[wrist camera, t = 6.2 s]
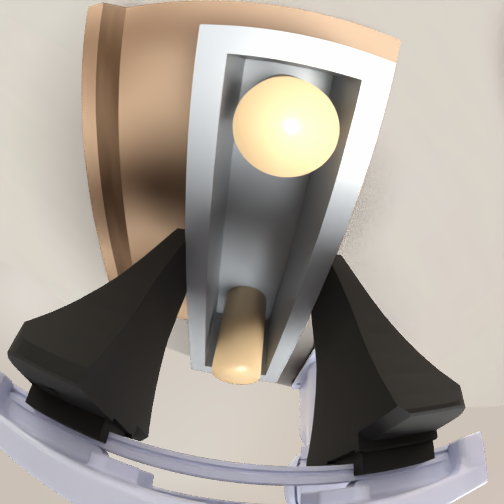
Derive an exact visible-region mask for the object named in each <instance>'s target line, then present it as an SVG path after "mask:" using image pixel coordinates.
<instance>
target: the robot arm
mask: <svg viewBox="0 0 504 504" xmlns="http://www.w3.org/2000/svg"><path fill="white" fill-rule="evenodd" d="M186 293H187V283H186V240H185V229H180V228H177V229H176V230H175V231H173V232H172V233H171V234H170V235H169V236H167V237H166V238H165V239H164V240H163V241H162V242H160V243H159V244H158V245H157V246H156V247H155V248H153V249H152V250H151V251H150V252H149V253H147V254H146V255H145V256H144V257H143V258H141V259H140V260H139V261H138V262H136V263H135V264H134V265H132V266H131V267H130V268H128V269H127V270H126V271H124V272H123V273H122V274H120V275H119V276H117V277H116V278H115V279H113V280H111V281H110V282H108V283H107V284H105V285H104V286H102V287H100V288H99V289H97V290H95V291H93V292H91V293H90V294H88V295H86V296H84V297H82V298H81V299H79V300H77V301H75V302H73V303H71V304H69V305H67V306H64V307H62V308H60V309H58V310H56V311H53V312H51V313H48V314H45V315H43V316H40V317H38V318H35V319H32V320H29V321H26V322H24V324H23V326H22V327H21V329H20V331H19V332H18V334H17V336H16V338H15V339H14V341H13V343H12V345H11V347H10V348H9V350H8V358H9V359H10V361H11V362H12V364H13V365H14V366H15V367H16V368H17V369H18V370H19V371H20V372H21V373H22V374H23V375H24V376H25V377H26V378H27V379H28V380H29V381H30V382H31V383H32V386H31V389H30V391H29V393H28V392H26V391H24V390H23V389H21V388H20V387H18V386H16V385H15V384H13V383H12V381H11V380H10V379H9V378H8V377H7V376H6V375H5V374H3V373H2V372H1V371H0V448H1V449H2V450H3V451H4V452H5V453H6V454H7V455H8V456H9V457H11V458H12V459H13V460H14V461H15V462H16V463H18V464H19V465H20V466H21V467H22V468H24V469H25V470H26V471H27V472H29V473H30V474H31V475H32V476H34V477H35V478H37V479H38V480H39V481H40V482H42V483H43V484H44V485H46V486H47V487H49V488H50V489H52V490H53V491H55V492H56V493H58V494H59V495H61V496H62V497H64V498H65V499H67V500H69V501H70V502H72V503H74V504H254V503H241V502H231V501H224V500H217V499H209V498H204V497H198V496H192V495H187V494H182V493H178V492H173V491H169V490H164V489H161V488H157V487H153V486H152V483H153V478H154V475H153V474H151V473H148V472H145V471H143V470H140V469H139V468H136V467H134V466H131V465H128V464H125V463H122V462H120V461H117V460H115V459H112V458H110V457H109V455H108V453H107V452H106V451H108V452H111V453H113V454H116V455H119V456H122V457H124V458H128V459H130V460H134V461H137V462H140V463H143V464H146V465H150V466H153V467H157V468H160V469H164V470H169V471H172V472H177V473H181V474H186V475H191V476H195V477H201V478H206V479H212V480H219V481H227V482H235V483H244V484H258V485H276V486H277V485H278V486H284V492H285V499H286V502H287V504H450V503H452V502H454V501H455V500H457V499H458V498H460V497H462V496H464V495H466V494H468V493H469V492H471V491H473V490H475V489H476V488H478V487H480V486H482V485H483V484H485V483H487V481H488V476H487V467H486V458H485V451H484V444H483V439H482V433H481V431H479V432H476V433H473V434H470V435H467V436H465V437H462V438H460V439H458V440H456V441H454V442H452V443H450V444H449V445H447V446H443V447H440V448H436V449H434V446H433V440H435V439H436V438H437V431H436V430H437V429H438V428H440V427H442V426H444V425H445V424H447V423H449V422H450V421H452V420H453V419H455V418H457V417H458V416H459V415H460V414H461V413H462V412H463V411H464V409H465V404H464V400H463V396H462V392H461V388H460V385H459V384H457V383H456V382H454V381H453V380H452V379H450V378H449V377H448V376H446V375H445V374H443V373H442V372H441V371H439V370H438V369H437V368H436V367H435V366H433V365H432V364H431V363H430V362H429V361H428V360H426V359H425V358H424V357H423V356H422V355H421V354H420V353H419V352H418V351H417V350H416V349H415V348H414V347H413V346H412V345H411V344H410V343H409V342H407V341H406V339H405V338H404V337H403V336H402V335H401V334H400V333H399V332H398V331H397V330H396V328H395V327H394V326H393V325H392V324H391V323H390V322H389V320H388V319H387V318H386V317H385V316H384V314H383V313H382V312H381V310H380V309H379V308H378V307H377V305H376V304H375V303H374V301H373V300H372V299H371V297H370V296H369V294H368V293H367V292H366V290H365V289H364V287H363V286H362V285H361V283H360V282H359V280H358V279H357V277H356V276H355V274H354V273H353V271H352V270H351V269H350V267H349V266H348V264H347V263H346V261H345V260H344V259H343V257H342V256H341V255H337V254H336V256H335V259H334V261H333V264H332V265H331V268H330V270H329V273H328V275H327V277H326V280H325V282H324V284H323V287H322V289H321V291H320V294H319V296H318V298H317V300H316V303H315V305H314V307H313V309H312V311H311V315H312V325H313V335H314V345H315V348H314V350H313V351H312V353H311V355H310V356H309V358H308V360H307V361H306V363H305V365H304V366H303V368H302V369H301V371H300V373H299V374H298V376H297V377H296V379H295V380H294V382H293V384H292V388H293V389H300V427H299V431H300V437H301V440H302V441H303V443H304V445H305V447H301V454H298V455H296V456H295V457H294V459H293V460H292V461H291V462H290V464H289V465H288V466H269V465H255V464H245V463H244V464H243V463H235V462H228V461H221V460H214V459H208V458H203V457H197V456H192V455H187V454H183V453H178V452H174V451H170V450H166V449H162V448H158V447H154V446H151V445H147V444H144V443H141V442H137V441H134V440H131V439H135V440H138V441H141V440H144V439H145V438H147V437H148V433H149V426H150V418H151V412H152V406H153V401H154V396H155V390H156V385H157V381H158V376H159V372H160V367H161V363H162V359H163V355H164V351H165V348H166V345H167V341H168V338H169V336H170V333H171V331H172V328H173V326H174V323H175V321H176V318H177V315H178V313H179V311H180V308H181V305H182V303H183V300H184V298H185V295H186ZM125 437H127V438H125ZM128 438H130V439H128ZM105 450H106V451H105Z"/></svg>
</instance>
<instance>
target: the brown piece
mask: <svg viewBox="0 0 504 504" xmlns="http://www.w3.org/2000/svg"><path fill="white" fill-rule="evenodd" d="M200 24H208V25H231V26H244V27H254V28H263V29H270V30H277V31H283V32H289V33H295V34H300V35H305V36H309V37H314V38H318V39H322V40H326V41H330V42H334V43H338V44H341V45H345V46H348V47H351V48H355V49H358V50H361V51H364V52H367V53H370V54H373V55H375V56H378V57H381V58H383V59H386V60H389V61H391V62H394V63H397V58H398V53H399V48H400V43H401V40H398V39H396V38H394V37H391V36H389V35H386V34H384V33H381V32H378V31H376V30H373V29H370V28H367V27H364V26H361V25H358V24H355V23H352V22H349V21H345V20H342V19H338V18H335V17H331V16H327V15H323V14H319V13H315V12H310V11H305V10H300V9H295V8H289V7H283V6H276V5H269V4H260V3H250V2H237V1H179V2H166V3H156V4H148V5H140V6H134V7H128V8H126V7H121V6H117V5H112V4H107V3H100V4H97V5H93V6H89V7H88V11H87V18H86V26H85V35H84V46H83V60H82V125H83V140H84V152H85V162H86V170H87V178H88V185H89V192H90V198H91V204H92V210H93V216H94V221H95V226H96V231H97V235H98V240H99V244H100V249H101V253H102V257H103V261H104V265H105V269H106V272H107V276H108V280H109V282H110V281H111V280H113V279H115V278H116V277H117V276H119V275H120V274H122V273H123V272H124V271H126V270H127V269H128V268H130V267H131V266H132V265H134V264H135V263H136V262H138V261H139V260H140V259H141V258H143V257H144V256H145V255H146V254H147V253H149V252H150V251H151V250H152V249H153V248H155V247H156V246H157V245H158V244H159V243H160V242H162V241H163V240H164V239H165V238H166V237H167V236H169V235H170V234H171V233H172V232H173V231H175V230H176V229H177V228H180V229H185V205H186V169H187V147H188V131H189V117H190V104H191V93H192V83H193V73H194V64H195V56H196V48H197V41H198V33H199V27H200ZM395 67H396V66H395ZM394 72H395V70H394ZM393 76H394V75H393ZM392 81H393V79H392ZM391 85H392V83H391ZM390 89H391V87H390ZM389 93H390V92H389ZM388 97H389V96H388ZM387 101H388V100H387ZM386 105H387V104H386ZM385 109H386V107H385ZM384 113H385V111H384ZM383 116H384V115H383ZM382 120H383V119H382ZM381 124H382V122H381ZM380 127H381V126H380ZM379 131H380V129H379ZM378 134H379V133H378ZM377 138H378V136H377ZM376 141H377V140H376ZM375 144H376V143H375ZM374 148H375V146H374ZM373 151H374V150H373ZM372 154H373V153H372ZM371 157H372V156H371ZM370 161H371V159H370ZM369 164H370V162H369ZM368 167H369V166H368ZM367 170H368V169H367ZM366 173H367V172H366ZM365 176H366V175H365ZM364 179H365V178H364ZM363 182H364V181H363ZM362 185H363V184H362ZM361 188H362V187H361ZM360 191H361V190H360ZM359 194H360V193H359ZM358 197H359V195H358ZM357 199H358V198H357ZM356 202H357V201H356ZM355 205H356V204H355ZM354 208H355V207H354ZM353 211H354V210H353ZM352 213H353V212H352ZM351 216H352V215H351ZM350 219H351V218H350ZM349 221H350V220H349ZM348 224H349V223H348ZM347 227H348V226H347ZM346 229H347V228H346ZM345 232H346V231H345ZM344 235H345V234H344ZM343 237H344V236H343ZM342 240H343V239H342ZM341 242H342V241H341ZM340 245H341V244H340ZM338 250H339V249H338ZM310 315H311V314H310ZM309 317H310V316H309ZM177 318H181V319H186V320H188V315H187V293H186V295H185V298H184V300H183V303H182V305H181V308H180V311H179V313H178V315H177ZM305 326H306V325H305ZM304 328H305V327H304ZM303 330H304V329H303ZM302 332H303V331H302ZM301 334H302V333H301ZM300 336H301V335H300Z"/></svg>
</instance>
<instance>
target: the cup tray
mask: <svg viewBox="0 0 504 504" xmlns="http://www.w3.org/2000/svg"><path fill="white" fill-rule="evenodd" d="M395 66H396V63H394V62H391V61H389V60H386V59H383V58H381V57H378V56H375V55H373V54H370V53H367V52H364V51H361V50H358V49H355V48H351V47H348V46H345V45H341V44H338V43H334V42H330V41H326V40H322V39H318V38H314V37H309V36H305V35H300V34H295V33H289V32H283V31H277V30H270V29H263V28H254V27H244V26H231V25H208V24H200V27H199V33H198V41H197V48H196V56H195V64H194V73H193V83H192V93H191V104H190V117H189V131H188V147H187V169H186V205H185V240H186V283H187V315H188V332H189V346H190V359H191V369H193V370H197V371H203V372H208V373H212V374H213V375H214V376H215V377H216V378H218V379H219V380H222V381H224V382H227V383H232V384H240V385H244V384H251V383H254V382H256V381H267V382H275V383H277V381H278V379H279V377H280V375H281V373H282V371H283V369H284V368H285V366H286V364H287V362H288V360H289V358H290V356H291V354H292V352H293V350H294V348H295V346H296V344H297V342H298V340H299V338H300V335H301V333H302V331H303V329H304V327H305V325H306V323H307V321H308V319H309V316H310V314H311V311H312V309H313V307H314V305H315V303H316V300H317V298H318V296H319V294H320V291H321V289H322V287H323V284H324V282H325V280H326V277H327V275H328V273H329V270H330V268H331V265H332V264H333V261H334V259H335V256H336V254H337V252H338V249H339V247H340V244H341V241H342V239H343V236H344V234H345V231H346V228H347V226H348V223H349V220H350V218H351V215H352V212H353V210H354V207H355V204H356V201H357V198H358V195H359V193H360V190H361V187H362V184H363V181H364V178H365V175H366V172H367V169H368V166H369V162H370V159H371V156H372V153H373V150H374V146H375V143H376V140H377V136H378V133H379V129H380V126H381V122H382V119H383V115H384V111H385V107H386V104H387V100H388V96H389V92H390V87H391V83H392V79H393V75H394V70H395Z"/></svg>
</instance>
